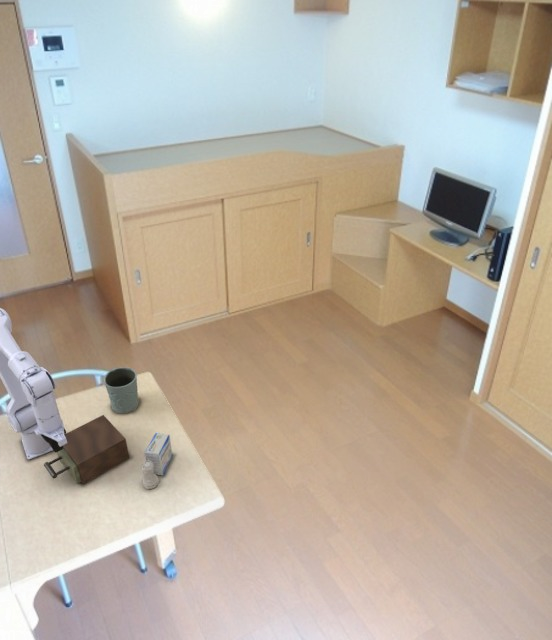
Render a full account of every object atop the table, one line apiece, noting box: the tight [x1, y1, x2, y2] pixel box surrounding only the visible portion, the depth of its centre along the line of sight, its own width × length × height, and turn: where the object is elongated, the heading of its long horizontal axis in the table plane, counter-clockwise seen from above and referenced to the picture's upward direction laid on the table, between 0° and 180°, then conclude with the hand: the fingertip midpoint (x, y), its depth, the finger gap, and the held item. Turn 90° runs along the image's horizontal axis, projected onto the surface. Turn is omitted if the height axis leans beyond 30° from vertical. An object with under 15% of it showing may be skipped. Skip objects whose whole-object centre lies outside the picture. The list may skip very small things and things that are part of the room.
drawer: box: [43, 448, 82, 484], centre depth 150 cm, size 18×12×6 cm, turn 133°
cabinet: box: [63, 414, 130, 485], centre depth 152 cm, size 14×13×8 cm
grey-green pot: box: [103, 366, 140, 415], centre depth 170 cm, size 10×10×12 cm
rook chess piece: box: [140, 459, 160, 490], centre depth 144 cm, size 4×4×8 cm
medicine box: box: [144, 432, 173, 476], centre depth 150 cm, size 8×4×9 cm, turn 168°
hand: (58, 449), depth 144 cm, fingers closed
